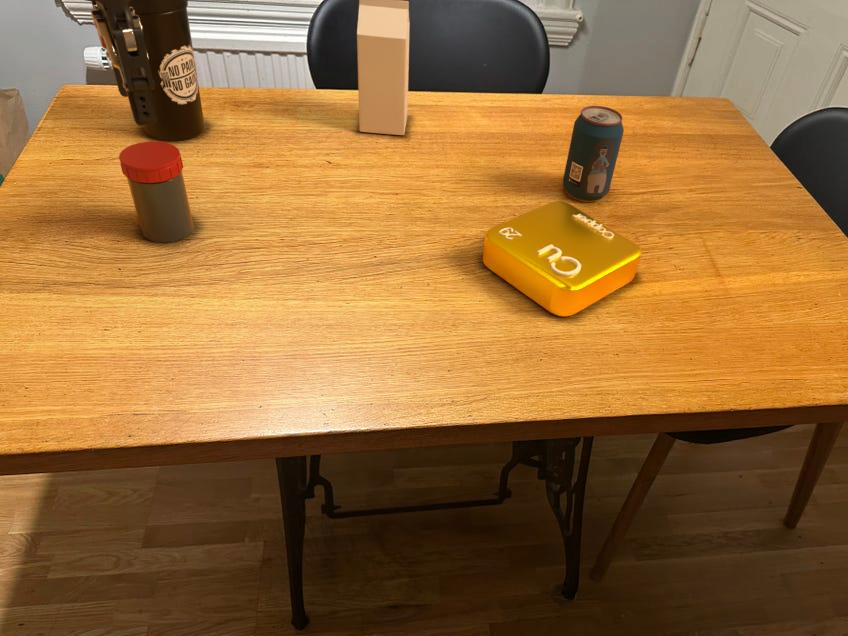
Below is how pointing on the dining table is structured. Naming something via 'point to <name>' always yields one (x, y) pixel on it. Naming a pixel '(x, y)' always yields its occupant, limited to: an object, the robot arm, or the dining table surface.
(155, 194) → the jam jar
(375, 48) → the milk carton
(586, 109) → the soda can
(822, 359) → the dining table surface
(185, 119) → the water bottle
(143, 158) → the jar lid
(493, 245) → the element tile
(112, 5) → the robot arm
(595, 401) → the dining table surface
